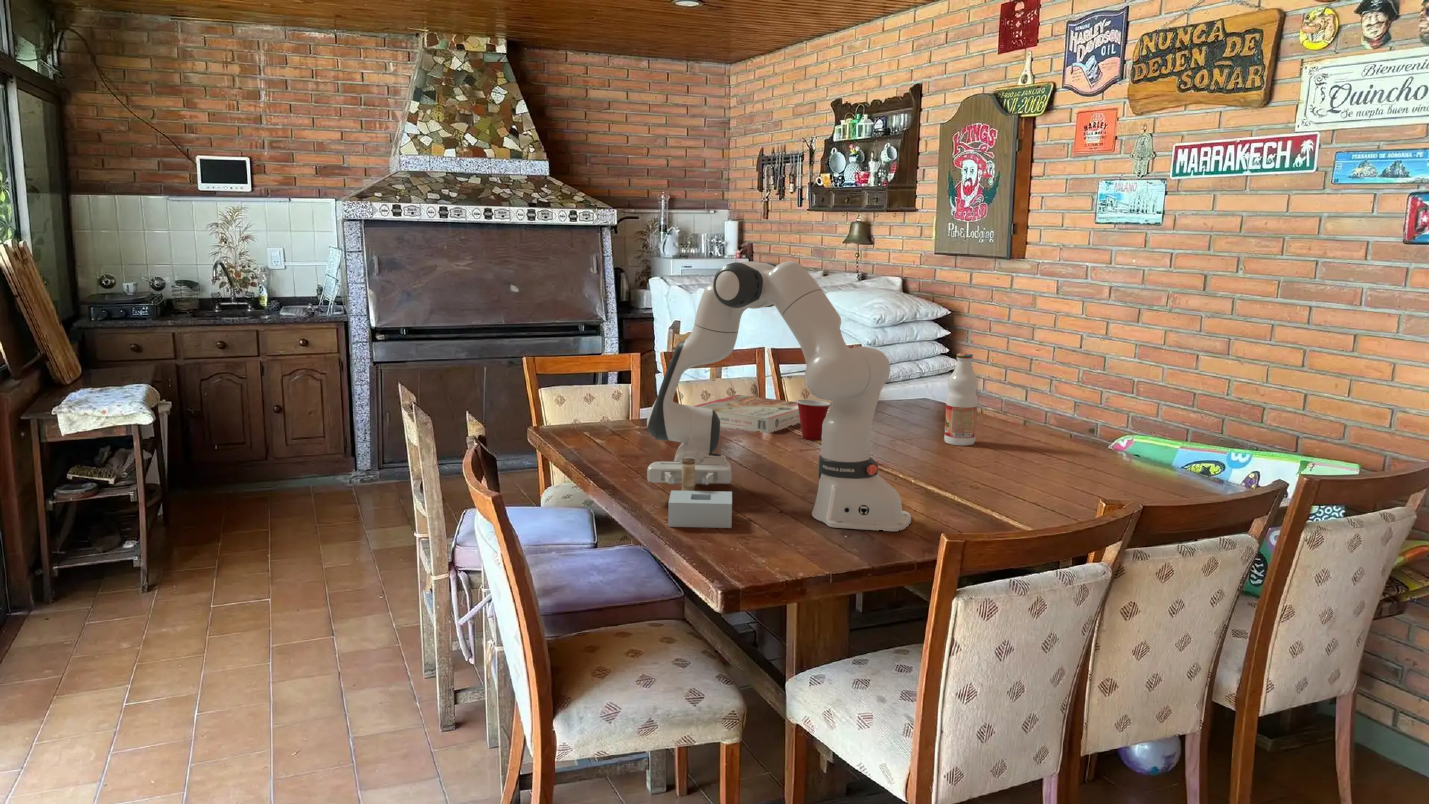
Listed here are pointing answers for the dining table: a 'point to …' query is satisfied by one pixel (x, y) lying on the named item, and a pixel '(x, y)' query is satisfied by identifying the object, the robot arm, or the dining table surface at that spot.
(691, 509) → the socket block
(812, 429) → the plastic cup
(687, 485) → the dowel pin
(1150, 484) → the dining table surface
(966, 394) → the fruit juice
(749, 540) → the dining table surface
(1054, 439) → the dining table surface
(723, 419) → the pizza box
